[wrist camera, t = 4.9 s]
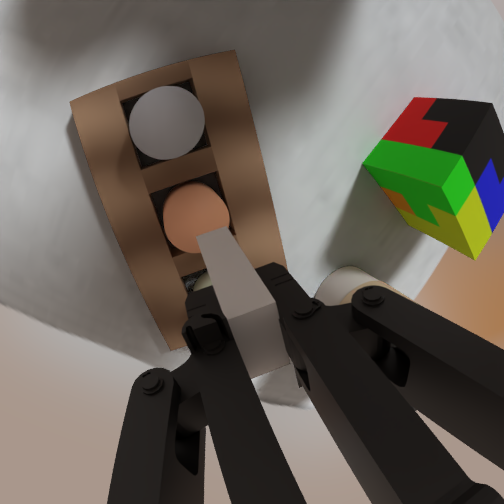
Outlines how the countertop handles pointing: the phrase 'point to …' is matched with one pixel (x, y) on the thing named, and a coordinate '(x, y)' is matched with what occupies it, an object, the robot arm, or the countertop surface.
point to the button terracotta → (192, 214)
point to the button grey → (166, 122)
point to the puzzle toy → (444, 170)
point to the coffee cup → (347, 286)
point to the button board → (178, 179)
